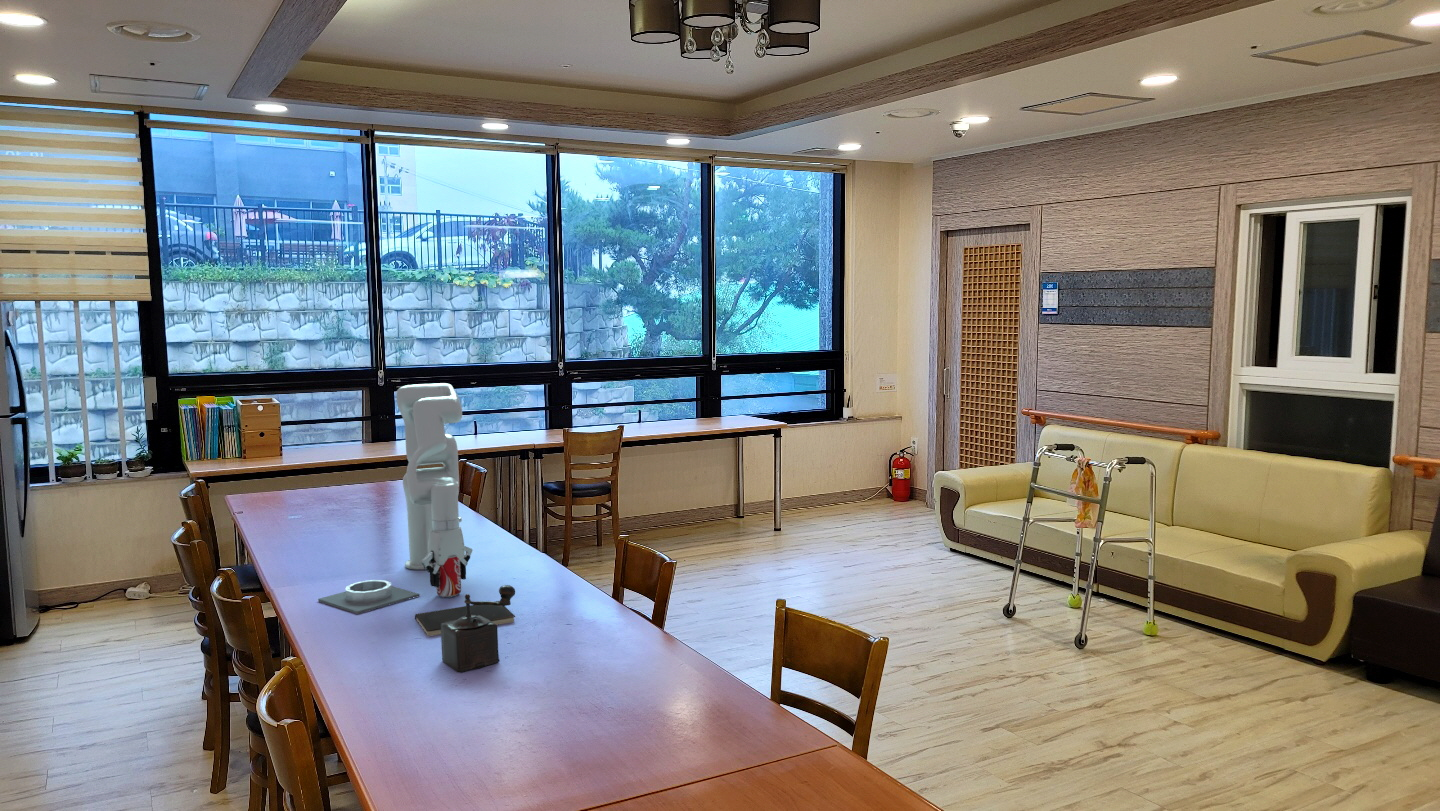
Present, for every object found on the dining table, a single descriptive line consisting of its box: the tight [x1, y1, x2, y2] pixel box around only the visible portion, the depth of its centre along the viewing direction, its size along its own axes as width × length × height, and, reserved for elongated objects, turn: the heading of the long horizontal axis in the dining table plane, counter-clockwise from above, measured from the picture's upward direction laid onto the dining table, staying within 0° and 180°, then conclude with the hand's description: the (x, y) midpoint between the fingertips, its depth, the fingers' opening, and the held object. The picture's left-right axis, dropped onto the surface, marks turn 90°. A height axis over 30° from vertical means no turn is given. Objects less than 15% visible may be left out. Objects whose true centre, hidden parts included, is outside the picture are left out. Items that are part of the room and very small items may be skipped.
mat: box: [318, 585, 420, 615], centre depth 289 cm, size 20×20×1 cm
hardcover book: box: [414, 600, 516, 637], centre depth 268 cm, size 16×23×2 cm
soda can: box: [435, 555, 462, 598], centre depth 291 cm, size 7×7×12 cm
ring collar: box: [345, 579, 392, 603], centre depth 289 cm, size 12×12×3 cm
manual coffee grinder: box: [440, 584, 516, 674], centre depth 238 cm, size 16×11×18 cm
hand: (448, 582), depth 291 cm, fingers open, 9 cm apart
